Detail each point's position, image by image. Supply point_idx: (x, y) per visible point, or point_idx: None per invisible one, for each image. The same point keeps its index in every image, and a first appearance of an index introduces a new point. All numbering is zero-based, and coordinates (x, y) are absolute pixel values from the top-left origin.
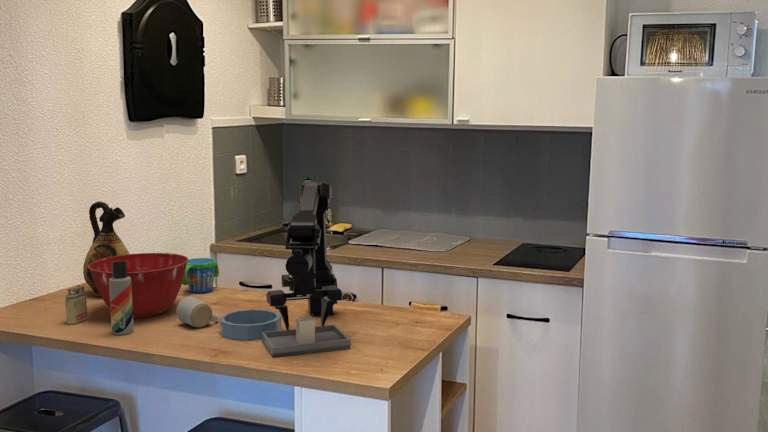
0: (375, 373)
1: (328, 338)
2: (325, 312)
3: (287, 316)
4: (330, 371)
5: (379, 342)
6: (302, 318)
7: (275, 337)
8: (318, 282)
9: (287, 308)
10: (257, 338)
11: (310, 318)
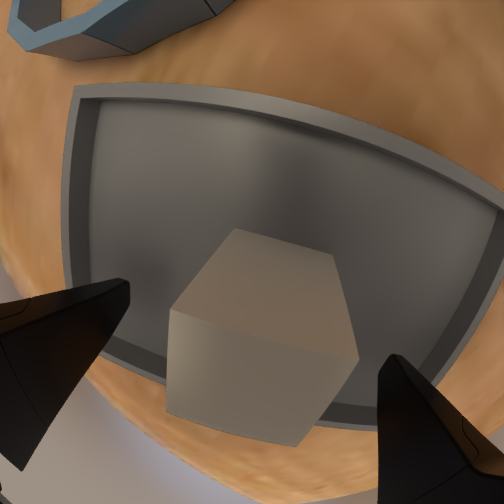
0: (293, 491)
1: (401, 314)
2: (379, 496)
3: (57, 402)
4: (218, 462)
5: (487, 382)
6: (224, 378)
7: (148, 114)
8: None
9: (27, 460)
10: (104, 55)
11: (293, 415)
